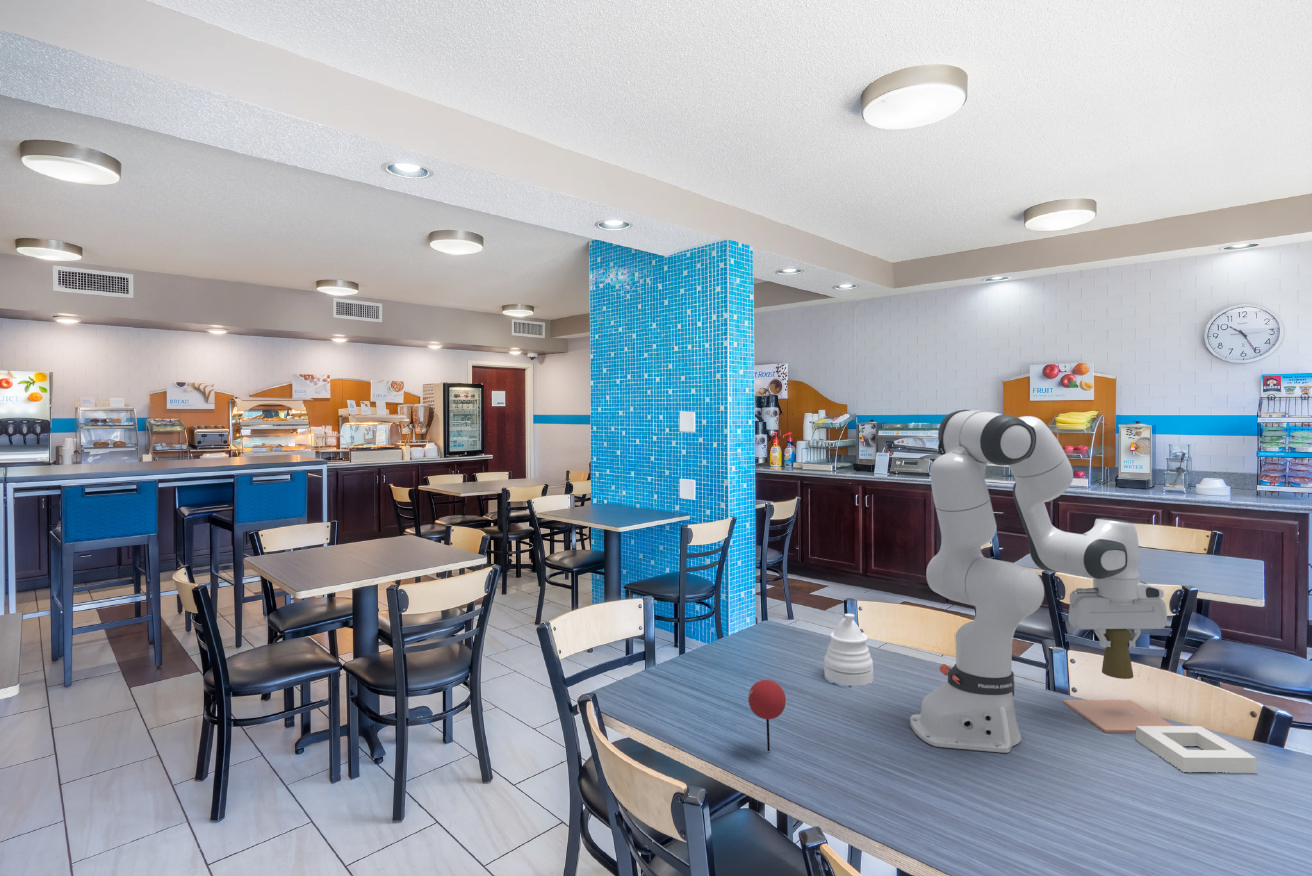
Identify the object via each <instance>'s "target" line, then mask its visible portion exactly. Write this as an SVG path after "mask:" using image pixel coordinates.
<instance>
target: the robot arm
mask: <svg viewBox="0 0 1312 876" xmlns="http://www.w3.org/2000/svg"><path fill="white" fill-rule="evenodd" d="M937 439H938V444H937V449H938V452H939V453H940V456H938V457H937V458H935V459H934V461H933V462H932V463H931V465H930V481H931V483H930V484H931V492H932V497H933V503H934V507H935V511H936V515H937V521H938V524H939V529H940V538H941V540H940V541H941V543H940V544H941V545H940V548H939V551H938V552H937V554H936V555H934V556H932V558H931V559H930V561H929V562H928V564H927V567H926V573H925V576H926V581H927V584H928V587H929V588H930V589H931V590H932V591H933V592H934V593H936V594H938V595H940V596H941V597H944V598H946V599H948V600H950V601H953V602H958V603H961V604H966V605H969V606H973V607H975V609H976V610H975V611H976V612H975V616H974V619H973V620H972V621H968V622H966V623H964V624H962V625H961V626H960V627H959V628H958V629H957V631H956V633H955V664H954V665H953V666H952V668H950V667H949V666H948V665H947V664H946V663H945V664H944V663H943V664H940V665H939V671H940V673H942V674H943V676H944V675H945V676H947V681H946V682H945V683H943V684H941V685H940V686H939V687H937V688H936V689H934V690H932V691H930V693H928V694H926V695H925V696H924V697H923V699H922V702H921V706H920V713H918V714H917V713H916V714H912V715H911V716H910V719H909V725H910V727H911V729H912V731H913V732H914V733H915V735H916V736H917V737H919V738H920V739H921V740H922V741H923V742H926V743H927V744H929V745H931V746H933V747H936V748H937V747H938V748H947V749H948V748H949V749H960V750H961V749H962V750H969V751H981V752H990V753H991V752H992V753H1006V754H1008V753H1010V752H1011V750H1012V748H1013V747H1014V746H1017V745H1018V744H1020V743H1021V742H1022V737H1023V736H1022V734H1021V732H1020V729H1019V724H1018V721H1017V715H1016V710H1015V704H1014V703H1015V701H1014V697H1015V685H1016V684H1015V673H1014V672H1013V670H1012V653H1013V652H1012V651H1013V640H1014V636H1015V632H1016V630H1017V627H1018V626H1019V625H1020V623H1021V622H1022V621H1023V620H1024V619H1026V618H1027V617H1029V616H1030V615H1032V614H1034V613H1035V612H1036V611H1037V610H1038V609H1039V608H1040V607H1041V606H1042V603H1043V601H1044V598H1045V586H1044V583H1043V581H1042V578H1041V577H1040V575H1039V574H1038V573H1037V572H1036V571H1035V570H1033V569H1031V568H1028V567H1025V566H1022V565H1020V564H1018V563H1016V562H1013V561H1012V562H1010V561H1005V560H999V559H993V558H989V557H988V558H987V557H985V556H984V555H983V553H982V546H984V545H986V544H988V543H989V542H990V541H992V539H993V538H994V537H995V535H996V532H997V527H998V526H997V523H996V522H997V521H996V517H995V515H994V514H995V513H994V509H993V505H992V502H991V496H990V493H989V489H988V485H987V483H986V469H987V466H988V464H993V465H996V466H1008V467H1009V469H1010V471H1011V473H1012V475H1013V478H1014V479H1015V480H1014V481H1015V482H1014V484H1013V487H1012V495H1013V501H1014V504H1015V507H1016V510H1017V512H1018V515H1019V518H1020V520H1021V524H1022V526H1023V529H1024V532H1025V535H1026V538H1027V540H1028V548H1029V549H1028V550H1029V555H1030V557H1031V560H1032V561H1033V562H1034V564H1035V565H1036V567H1038V568H1039V569H1041V570H1042V571H1047V572H1054V573H1062V574H1063V573H1064V574H1068V575H1071V576H1077V577H1083V578H1087V579H1092V587H1088V588H1082V587H1080V588H1079V587H1078V588H1075V590H1073V591H1072V592H1070V594H1069V608H1068V622H1069V623H1070V625H1071V626H1072V627H1074V628H1076V629H1078V630H1093V632H1094V633H1095V635H1096V636H1097V638H1098V640H1099V647H1101V648H1103V649H1105V648H1111V645H1110V644H1111V641H1110V640H1107V639H1106V638H1105V636H1104V634H1105V633H1106V629H1127V630H1128V631H1129V632H1130V641H1129V642H1128V648H1129V649H1135V648H1136V641H1137V640H1138V638H1139V637H1140V635H1141V633H1142V632H1141V631H1142V630H1155V629H1159V630H1161V629H1164V628H1165V627H1166V626H1167V624H1168V614H1167V612H1168V611H1167V606H1166V602H1165V600H1164V599H1162V598H1164V595H1165V593H1164V589H1162V588H1160V587H1158V586H1155V585H1152V584H1149V583H1147V582H1144V581H1141V580H1140V579H1141V578H1140V577H1141V576H1140V572H1139V571H1138V569H1139V568H1138V562H1139V561H1140V546H1139V537H1138V533H1137V530H1136V527H1135V525H1134V524H1133V523H1131V522H1130V521H1128V520H1122V519H1116V518H1115V519H1114V518H1107V517H1099V518H1096V519H1095V520H1094V524H1093V527H1092V528H1091V529H1090V530H1088V531H1086V532H1084V533H1075V532H1068V531H1064V530H1061V529H1059V528H1057V527H1055V526H1054V525H1053V524H1052V521H1051V519H1050V516H1049V513H1048V510H1047V507H1046V504H1045V503H1046V502H1050V501H1053V500H1055V499H1056V498H1058V497H1060V496H1061V495H1063V494H1064V493H1065V492H1066V491H1067V490H1068V489H1069V488H1070V486H1071V485H1072V483H1073V480H1074V470H1073V466H1072V465H1071V462H1070V460H1069V458H1068V456H1067V454H1066V452H1065V451H1064V448H1063V447H1062V445H1061V444H1060V442H1059V440H1058V439H1057V437H1056V436H1055V434H1054V433H1053V432H1052V431H1051V429H1050V428H1049V427H1048V425H1047V424H1045V422H1044V421H1043V420H1041V419H1040V418H1038V417H1036V416H1031V415H1026V416H1025V415H1023V416H1019V417H1017V416H1015V415H1011V414H1002V413H998V412H993V411H990V410H979V409H977V410H976V409H975V410H974V409H973V410H971V409H961V410H960V409H959V410H955V411H952V412H950V413H948V414H946V416H945V417H944V418H942V419H941V422H940V424H939V427H938V433H937Z"/></svg>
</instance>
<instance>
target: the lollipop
mask: <svg viewBox="0 0 1312 876" xmlns="http://www.w3.org/2000/svg"><path fill="white" fill-rule="evenodd" d="M786 698H787V697H786V693H785V691H784V689H783V688H782V686H781V685H780V684H779V683H778V682H776V681H773V680H769V679H761V680H759V681H756V682H755V683H754V684H753V685H752V686H751V687H750V689H749V692H748V696H747V699H748V701H747V702H748V705H749V707H750V709H751V712H752V713H753V714H754V715H756V716H757V717H759V718H760V719H763V720H766V740H767V741H766V742H767V744H766V745H767V747H766V748H767V751H770V752H771V749H770V747H771V745H770V744H771V743H770V720H773V719H776V718H778V717H779V716H780V715H781V714H782V713H783V712H784V711H785V710H784V709H785V707H786V703H787V702H786V701H787V699H786Z"/></svg>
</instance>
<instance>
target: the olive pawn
mask: <svg viewBox="0 0 1312 876" xmlns="http://www.w3.org/2000/svg"><path fill="white" fill-rule="evenodd" d="M1130 632H1131V631H1129V630H1128V629H1106V633H1105V634H1104V636H1105V638H1106V639H1107V640H1110V641H1111V644H1110V645H1111V648H1104V653H1103V658H1102V659H1103V661H1102V666H1101V673H1102V674H1103V675H1105V676H1107V677H1109V678H1110V677H1111V678H1115V679H1120V680H1121V679H1122V680H1129V679H1134V672H1133V667H1132V661H1131V659H1132V658H1131V655H1130V654H1131V653H1130V648H1128V642H1129V641H1130Z"/></svg>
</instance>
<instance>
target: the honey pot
mask: <svg viewBox="0 0 1312 876" xmlns="http://www.w3.org/2000/svg"><path fill="white" fill-rule="evenodd" d="M829 637H830V641H829V643H828V645H827V650H826V653H825V655H824V658H823V659H824V662H823V663H824V665H823V666H824V668H823V669H824V677H825V676H826V677H827V678H828V679H829V680H832V681H835V682H837V683H841V684H844V685H854V686H855V685H866V684H868V683H872V681H873V682H874V668H873V667H874V661H873V658H872V656H871V653H870V649H869V646H867V645H868V644H867V641H868V640H869V636H868V635H867V634H866V633H863V632H862V631H861V629H860V627H859V625H858V623H856V621H855V614H854V613H844V618H842V619H841V620H840V621H839V622H838V623H837V625H836V627H835V630H834V631H832V632H830V634H829ZM872 684H873V683H872Z"/></svg>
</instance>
